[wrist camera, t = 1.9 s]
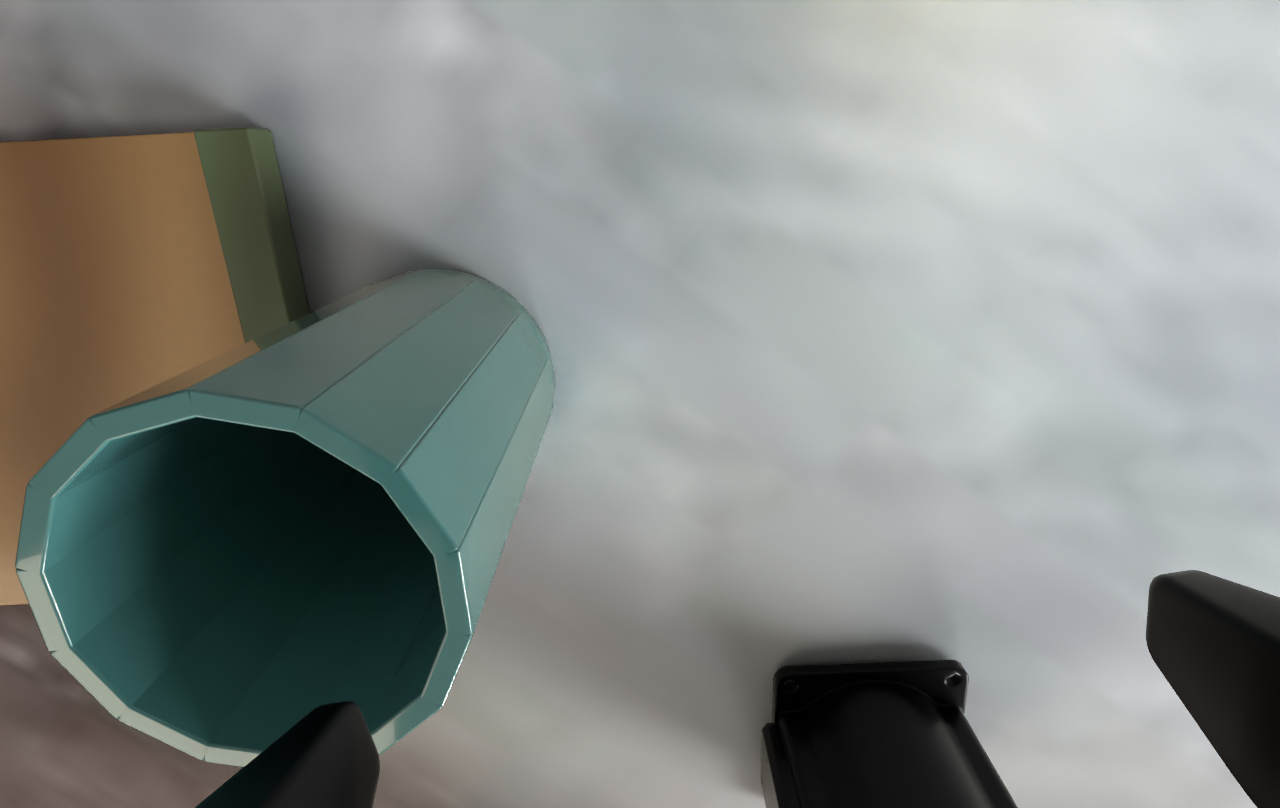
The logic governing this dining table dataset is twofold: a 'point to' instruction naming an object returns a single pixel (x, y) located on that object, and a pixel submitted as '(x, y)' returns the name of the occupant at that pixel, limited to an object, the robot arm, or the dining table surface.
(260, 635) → the cup
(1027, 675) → the dining table surface
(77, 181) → the cork mat
